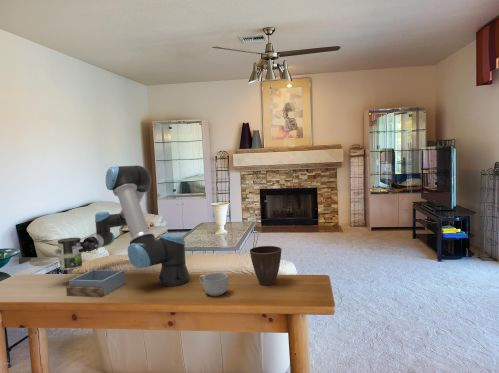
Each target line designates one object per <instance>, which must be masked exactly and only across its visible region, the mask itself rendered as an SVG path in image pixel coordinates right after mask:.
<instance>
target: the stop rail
mask: <svg viewBox="0 0 499 373" xmlns="http://www.w3.org/2000/svg"><path fill="white" fill-rule="evenodd" d="M65 289H66V296H69V297H87V298H88V297H89V298H103V297H104V296H105V295H104V288H99V287H72V286H69V285H68V286H67V287H65Z"/></svg>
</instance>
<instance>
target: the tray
mask: <svg viewBox="0 0 499 373" xmlns="http://www.w3.org/2000/svg"><path fill="white" fill-rule="evenodd" d="M125 277H126V275H125V270H124V269H119V270H118V269H90V270H89V271H87V272H84V273H82V274H79V275H77V276H76V277H73V278H71V279H69V280H68V286H72V287H99V288H104V296H106V295H107V294H109V293H112V292H113V291H114V290H116V289H118V288H119V287H122V286H123V285H125V284H126V280H125Z"/></svg>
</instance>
